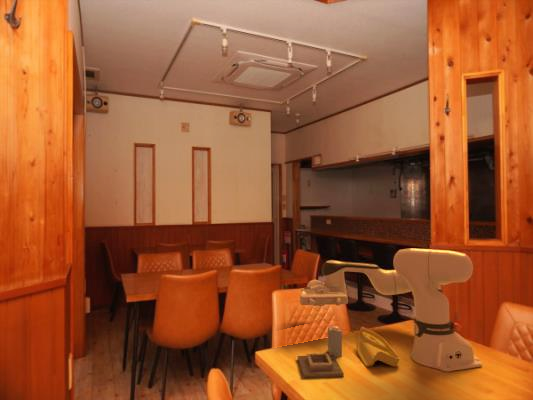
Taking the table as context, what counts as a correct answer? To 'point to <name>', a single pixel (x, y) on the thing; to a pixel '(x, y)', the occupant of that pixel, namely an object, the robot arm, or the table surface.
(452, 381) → the table surface
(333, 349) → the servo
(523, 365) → the table surface
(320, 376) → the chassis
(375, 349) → the plastic component
